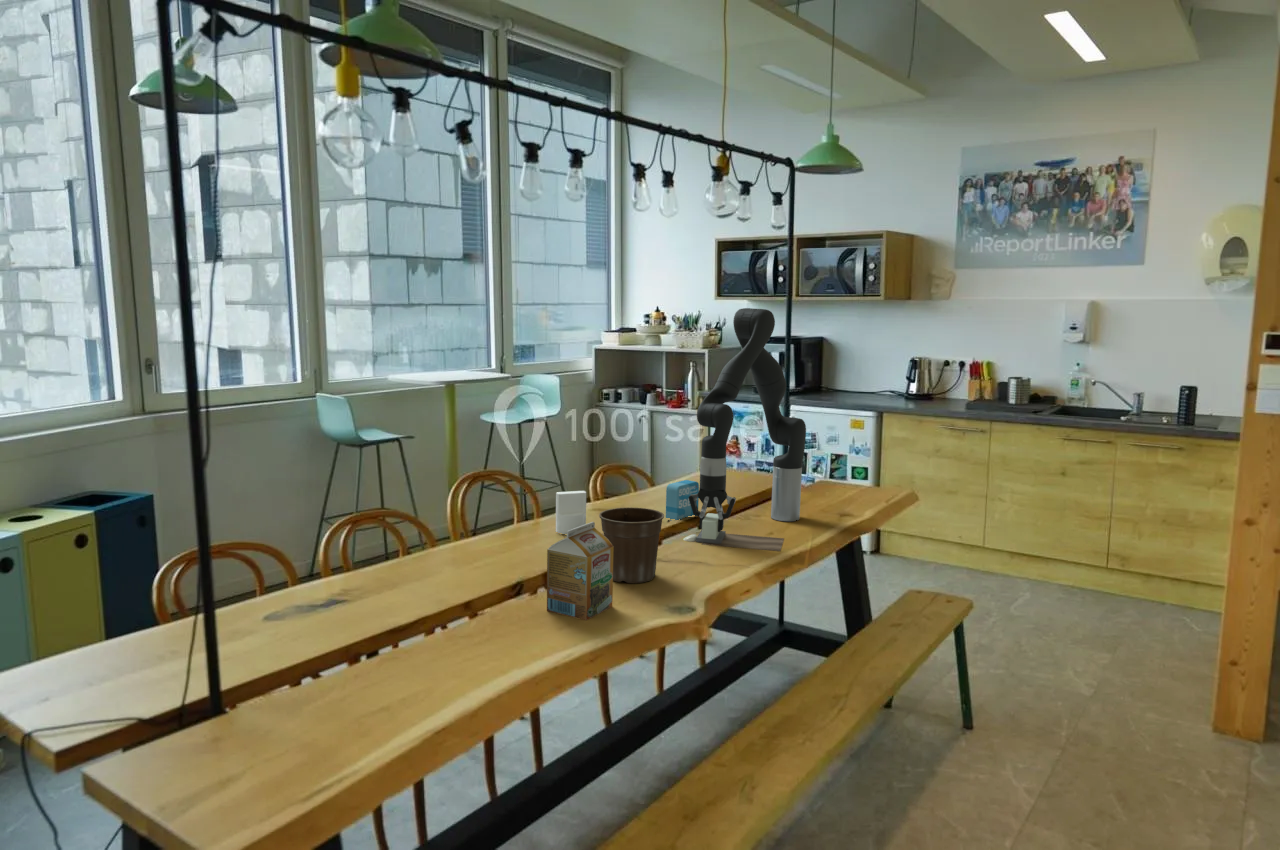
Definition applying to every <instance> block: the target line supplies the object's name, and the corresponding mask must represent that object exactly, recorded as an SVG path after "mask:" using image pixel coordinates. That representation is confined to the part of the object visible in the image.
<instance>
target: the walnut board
mask: <svg viewBox="0 0 1280 850" xmlns="http://www.w3.org/2000/svg"><path fill="white" fill-rule="evenodd" d="M784 541H785V538H783V537H772V536H771V537H770V536H759V535H749V534H748V535H747V534H738V533H737V534H735V533H726V534H725V537H724V539H723V541H722V543H721V544H715V543H702V542H701V545H703V546H713V547H714V546H715V547H716V546H717V547H724V548H734V549H735V548H737V549H738V548H739V549H747V550H748V549H749V550H750V549H751V550H758V551H759V550H760V551H771V552H781V550H782V547H783V544H784Z"/></svg>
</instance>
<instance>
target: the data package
mask: <svg viewBox="0 0 1280 850" xmlns="http://www.w3.org/2000/svg"><path fill="white" fill-rule="evenodd" d="M699 488H700V482H698V481H695V480H689V479H685V480H680V481H676V482H675V481H674V482H672V483H668V485H667V486H666V489H665V492H666V494H665V519H666V518H670V519H675V520H679V519H681V520H682V519H684V518H685V517H688V516H692V515H694V514H693V511H692V508H691V504H690V501H689V496H690V495H691V494H693V495H694V494H698V492H699ZM699 501H700V499H699V497H697V501H696V504H697V507H698V508H699ZM685 519H686V518H685Z"/></svg>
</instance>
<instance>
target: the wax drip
mask: <svg viewBox="0 0 1280 850" xmlns="http://www.w3.org/2000/svg"><path fill="white" fill-rule="evenodd" d="M697 536H698V535H697V534H696V533H692V534H690V535H687V536H685V537H684V538H683V541H685V542H696V538H697Z"/></svg>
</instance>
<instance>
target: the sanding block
mask: <svg viewBox="0 0 1280 850" xmlns="http://www.w3.org/2000/svg"><path fill="white" fill-rule="evenodd" d="M718 519H719V517H718V513H712V512H711V513H710V512H708V513H707V512H706V514H705V518H704V519H703V521H702V529H701V531H700V532H699V533H698V535H696V536H697V538H696V541H695V542H696V543H701V544H702V543H715V544H721V543H722V541H723V539H724V537H725V534H727V533H726V530H721V532H718Z"/></svg>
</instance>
